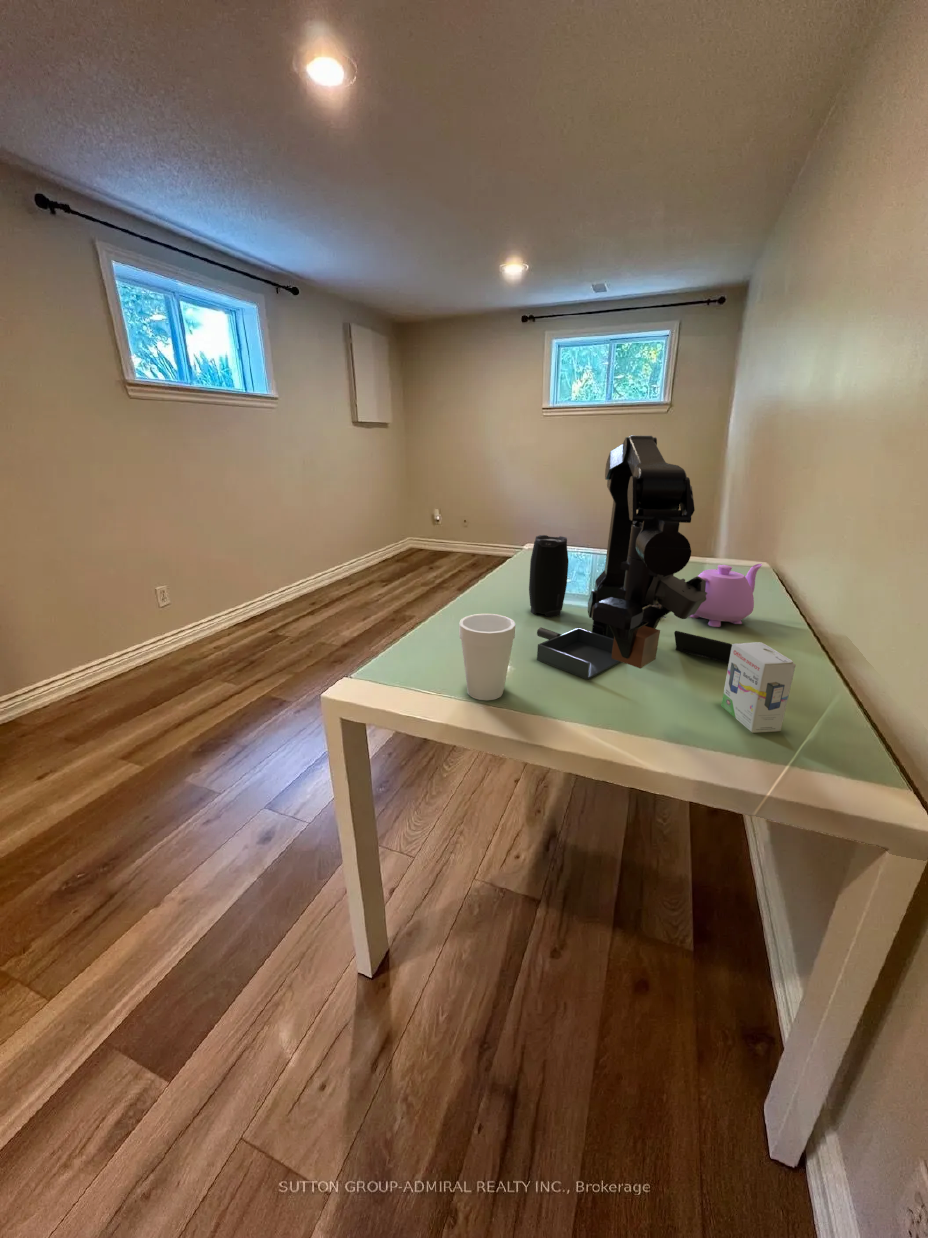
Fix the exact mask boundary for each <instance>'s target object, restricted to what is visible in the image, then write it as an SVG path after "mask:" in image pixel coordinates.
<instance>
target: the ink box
mask: <svg viewBox="0 0 928 1238" xmlns="http://www.w3.org/2000/svg"><path fill="white" fill-rule="evenodd" d="M731 644H732V648H731V654H730V659H729V664H727V665H728V666H727V670H726V671H727V672H726V677H725V683H724V688H723V694H722V699H721V704H720V706H721V707H722V708H723V709H724V710H725V711H726V712H727V713H728V714H729V715H730V716H732V717H733V718H734V719H736V720H737V721H738V722H739V723H740V724H741V725H743V727H745V728H746V729H747V730H748V731H749V732H750V733H753V734H754V733H755V734H756V733H771V732H772V733H773V732H781V731H782V728H783V722H784V718H785V714H786V709H787V705H788V700H789V696H790V692H791V687H792V682H793V678H794V674H795V669H796V665H797V664H796V663H794V661H793V660H792V659H790V658H788V656H786V655H784V654H783V653H781V652H779V651H778V650H776V649H774V648H772V647H771V646H769V645H767V644H765V643H764V642H761V641H753V642H738V643H737V642H736V643H735V642H734V643H731Z"/></svg>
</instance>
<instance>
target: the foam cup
mask: <svg viewBox="0 0 928 1238" xmlns="http://www.w3.org/2000/svg"><path fill="white" fill-rule="evenodd" d="M458 630H459V631H458V634H459V639H460V642H461V650H462V657H463V666H464V674H465V681H466V682H465V683H466V689H467V694H468V696H470V697H471V698H473V699H476V700H479V701H493V700H497V699H499V698H501V697H502V696H503V694H504V689H505V686H506V680H507V674H508V670H509V664H510V659H511V654H512V649H513V643H514V640H515V638H516V622H515V620H514V619H512V618H510V617H508V616H505V615H503V614H502V615H501V614H496V613H475V614H470V615H466V616H464V617H462V618H461V619H460V620H459V624H458Z"/></svg>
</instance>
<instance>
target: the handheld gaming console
mask: <svg viewBox="0 0 928 1238" xmlns="http://www.w3.org/2000/svg"><path fill="white" fill-rule="evenodd" d="M673 633H674V643H675V651H678V652H681V653H685V654H689V655H694V656H698V657H701V658H704V659H705V658H706V659H709V660H711V661H712V660H713V661H716V662H720V663H724V664H727V665H729V659H730V654H731V648H732V644H733V643H730V642H725V641H721V640H717V639H713V638H709V637H705V636H700V635H696V634H692V633H687V632H684V631H681V630H674V632H673Z"/></svg>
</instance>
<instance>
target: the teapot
mask: <svg viewBox="0 0 928 1238" xmlns="http://www.w3.org/2000/svg"><path fill="white" fill-rule="evenodd" d="M762 566H763V564H762V563H757V564H753V566H751V567H750V569H749V570H748V571H747V573H746V575H744V574H743V573H741V572H737V571H735V570H732V569H733V567H732V566H731V565H727V564H718V565H717V568H713V569H712V568H709V569H704V570H702V571H701V572H700V573H699V574H698V575H697V576H698V577H700V578H702V579H704V580H705V581H706V589H705V592H707V595H706V601H704V602H702V603H701V605H700V606H699V608H698V609H697V611H696V613H695V614H694V615H691V616H689V618H693V619H698V618H703V619H707V620H709V621H708V623H707V625H708V626H710V627H713V628H714V627H715V628H720V627H722V622H729V623H731V624H734V625H742V624H743V622H742V621H743V620H744V619H746V618H747V617H748V616H750V615H751V614H752V612H753V611H754V608H755V607H754V606H755V597H754V592H755V588H756V577H757V573H758V571H759V569H760V568H761V567H762Z"/></svg>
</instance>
